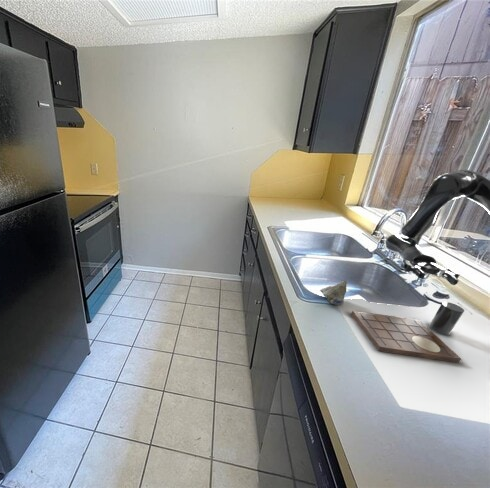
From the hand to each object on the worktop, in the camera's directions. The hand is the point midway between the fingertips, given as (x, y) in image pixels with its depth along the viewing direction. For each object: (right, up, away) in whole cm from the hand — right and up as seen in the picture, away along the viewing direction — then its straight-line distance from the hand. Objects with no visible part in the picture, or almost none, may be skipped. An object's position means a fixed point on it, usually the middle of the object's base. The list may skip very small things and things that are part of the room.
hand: (438, 279), depth 86 cm
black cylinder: (-5, -15, -4) cm, 17 cm away
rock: (-32, -9, +8) cm, 34 cm away
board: (-21, -16, -8) cm, 27 cm away
